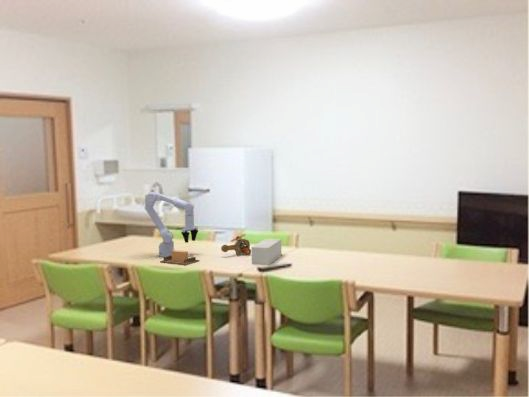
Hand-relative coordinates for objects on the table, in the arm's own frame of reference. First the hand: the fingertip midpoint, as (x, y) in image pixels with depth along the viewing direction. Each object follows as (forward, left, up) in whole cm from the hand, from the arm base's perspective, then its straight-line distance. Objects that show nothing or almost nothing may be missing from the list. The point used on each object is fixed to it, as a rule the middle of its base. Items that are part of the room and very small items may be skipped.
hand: (190, 241), depth 372 cm
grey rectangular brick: (+51, +13, -10) cm, 54 cm away
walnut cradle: (+6, -19, -9) cm, 22 cm away
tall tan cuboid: (+6, -19, -9) cm, 22 cm away
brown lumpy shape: (+28, +14, -10) cm, 32 cm away
